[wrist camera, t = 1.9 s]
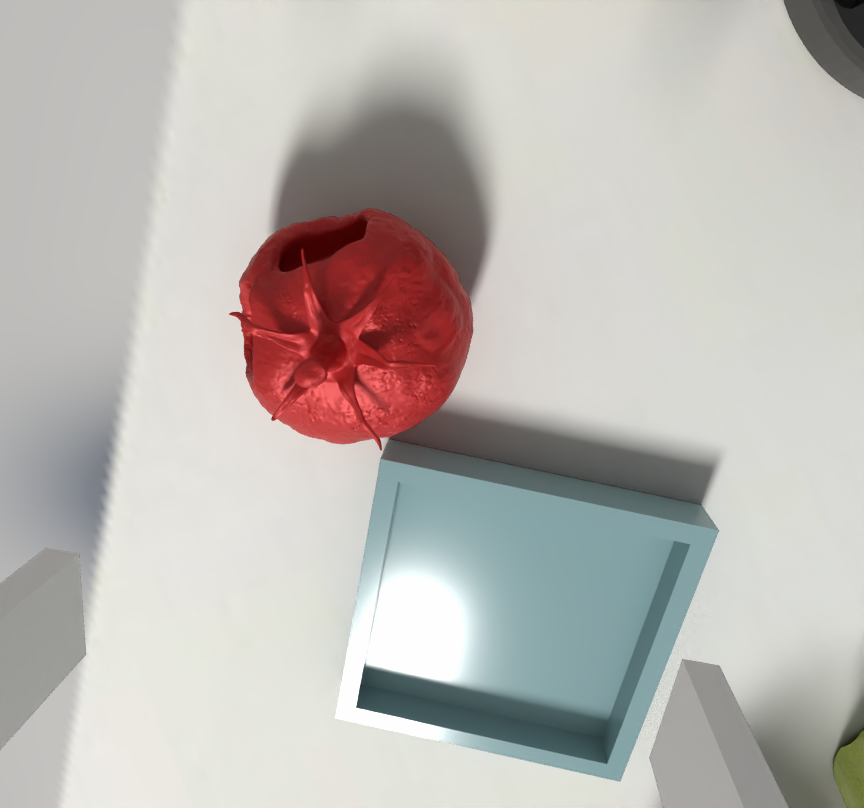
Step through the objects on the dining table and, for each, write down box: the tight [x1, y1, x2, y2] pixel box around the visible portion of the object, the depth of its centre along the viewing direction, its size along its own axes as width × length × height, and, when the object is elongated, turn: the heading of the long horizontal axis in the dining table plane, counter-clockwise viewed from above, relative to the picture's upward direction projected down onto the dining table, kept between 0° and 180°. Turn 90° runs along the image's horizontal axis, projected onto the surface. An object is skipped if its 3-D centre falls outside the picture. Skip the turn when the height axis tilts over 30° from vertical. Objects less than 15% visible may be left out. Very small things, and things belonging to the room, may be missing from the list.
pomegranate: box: [229, 208, 473, 450], centre depth 25 cm, size 10×10×9 cm
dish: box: [336, 439, 719, 781], centre depth 32 cm, size 16×16×2 cm
